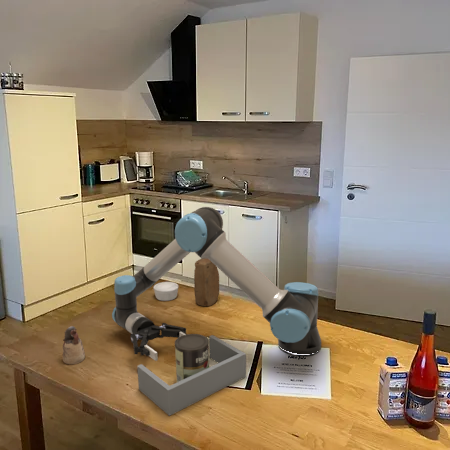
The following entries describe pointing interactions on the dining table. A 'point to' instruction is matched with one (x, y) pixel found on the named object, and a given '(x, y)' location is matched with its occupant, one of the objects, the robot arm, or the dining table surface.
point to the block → (206, 282)
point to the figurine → (72, 347)
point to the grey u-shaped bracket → (195, 379)
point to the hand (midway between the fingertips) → (174, 349)
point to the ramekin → (166, 291)
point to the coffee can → (191, 355)
